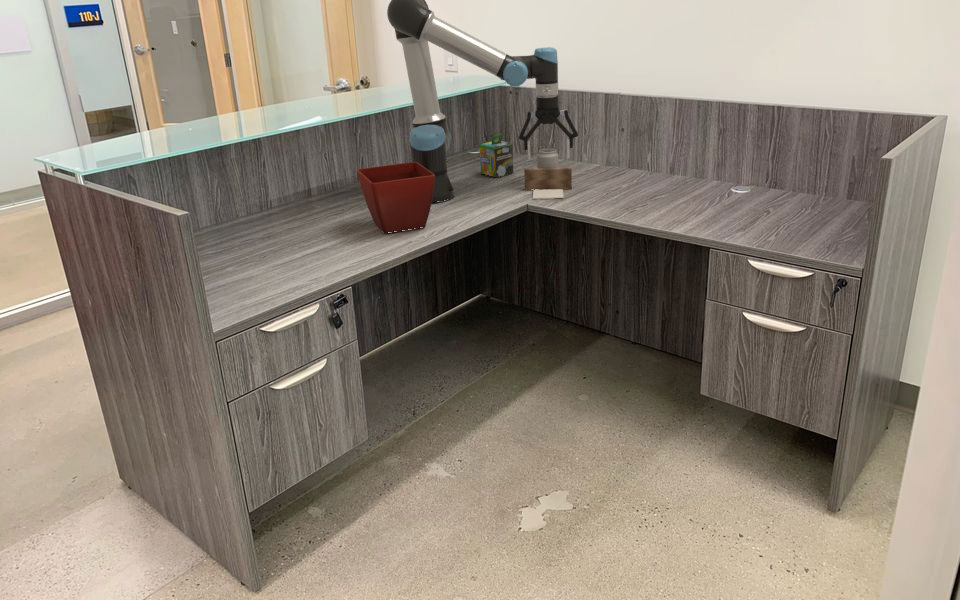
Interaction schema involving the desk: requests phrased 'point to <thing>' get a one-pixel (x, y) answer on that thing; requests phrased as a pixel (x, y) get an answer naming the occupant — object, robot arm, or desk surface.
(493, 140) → the chalk box
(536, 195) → the pad
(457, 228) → the desk surface
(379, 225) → the plant pot
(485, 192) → the desk surface
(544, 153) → the can
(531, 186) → the walnut plank
